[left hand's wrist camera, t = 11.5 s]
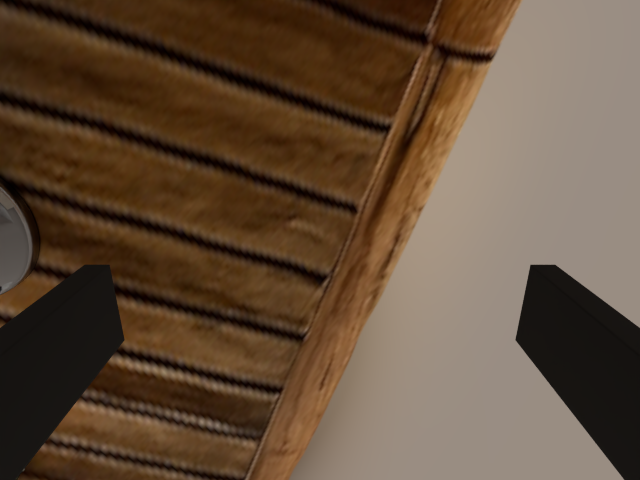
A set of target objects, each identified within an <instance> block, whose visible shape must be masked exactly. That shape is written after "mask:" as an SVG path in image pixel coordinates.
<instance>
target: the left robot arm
mask: <svg viewBox="0 0 640 480" xmlns="http://www.w3.org/2000/svg"><path fill="white" fill-rule="evenodd" d="M39 248H40V243H39V233H38V229H37V226H36V223H35V220H34V218H33V216H32V214H31V212H30V210H29V208H28V207H27V205H26V204H25V202H24V201H23V199H22V198H21V197H20V196H19V194H18V193H17V192H16V191H15V190H14V189H13V188H12V187H11V186H10V185H9V184H8V183H6V182H5V181H4V180H3V179H1V178H0V295H1V294H3V293H5V292H7V291H9V290H10V289H12V288H13V287H15V286H16V285H18V284H19V283H21V282H22V281H24V280H25V279H26V278H27V277H28V276H29V274H30V273H31V272H32V270H33V269H34V267H35V265H36V262H37V259H38V255H39ZM123 341H124V335H123V330H122V325H121V320H120V315H119V310H118V305H117V300H116V295H115V290H114V285H113V280H112V275H111V270H110V265H84V266H83V267H81V268H80V269H79V270H77V271H76V272H75V273H73V274H72V275H71V276H69V277H68V278H67V279H65V280H64V281H63V282H61V283H60V284H59V285H57V286H56V287H54V288H53V289H52V290H50V291H49V292H48V293H46V294H45V295H44V296H42V297H41V298H40V299H38V300H37V301H36V302H34V303H33V304H32V305H30V306H29V307H28V308H26V309H25V310H24V311H22V312H21V313H20V314H18V315H17V316H16V317H14V318H13V319H12V320H10V321H9V322H8V323H6V324H5V325H4V326H2V327H1V328H0V480H16V479H17V477H18V476H19V475H20V473H21V472H22V471H23V470H24V468H25V467H26V466H27V464H28V463H29V462H30V461H31V459H32V458H33V457H34V455H35V454H36V453H37V452H38V450H39V449H40V448H41V446H42V445H43V444H44V443H45V441H46V440H47V439H48V437H49V436H50V435H51V434H52V432H53V431H54V430H55V428H56V427H57V426H58V425H59V423H60V422H61V421H62V419H63V418H64V417H65V416H66V414H67V413H68V412H69V411H70V409H71V408H72V407H73V405H74V404H75V403H76V402H77V400H78V399H79V398H80V396H81V395H82V394H83V393H84V391H85V390H86V389H87V387H88V386H89V385H90V384H91V382H92V381H93V380H94V378H95V377H96V376H97V375H98V373H99V372H100V371H101V369H102V368H103V367H104V366H105V364H106V363H107V362H108V360H109V359H110V358H111V357H112V355H113V354H114V353H115V352H116V350H117V349H118V348H119V346H120V345H121V344H122V343H123ZM516 341H517V343H518V344H519V345H520V346H521V348H522V349H523V350H524V351H525V353H526V354H527V355H528V357H529V358H530V359H531V360H532V362H533V363H534V364H535V366H536V367H537V368H538V369H539V371H540V372H541V373H542V375H543V376H544V377H545V378H546V380H547V381H548V382H549V384H550V385H551V386H552V387H553V389H554V390H555V391H556V393H557V394H558V395H559V396H560V398H561V399H562V400H563V401H564V403H565V404H566V405H567V407H568V408H569V409H570V410H571V412H572V413H573V414H574V416H575V417H576V418H577V419H578V421H579V422H580V423H581V425H582V426H583V427H584V428H585V430H586V431H587V432H588V434H589V435H590V436H591V437H592V439H593V440H594V441H595V443H596V444H597V445H598V446H599V448H600V449H601V450H602V452H603V453H604V454H605V455H606V457H607V458H608V459H609V460H610V462H611V463H612V464H613V466H614V467H615V468H616V470H617V471H618V472H619V473H620V475H621V476H622V477H623V479H624V480H640V328H639V327H638V326H636V325H635V324H634V323H632V322H631V321H630V320H628V319H627V318H626V317H624V316H623V315H622V314H620V313H619V312H618V311H616V310H615V309H614V308H612V307H611V306H610V305H608V304H607V303H606V302H604V301H603V300H602V299H600V298H599V297H598V296H596V295H595V294H594V293H592V292H591V291H589V290H588V289H587V288H585V287H584V286H583V285H581V284H580V283H579V282H577V281H576V280H575V279H573V278H572V277H571V276H569V275H568V274H567V273H565V272H564V271H563V270H561V269H560V268H559V267H557V266H556V265H530V270H529V275H528V280H527V285H526V290H525V295H524V300H523V305H522V310H521V315H520V320H519V325H518V330H517V335H516Z"/></svg>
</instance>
